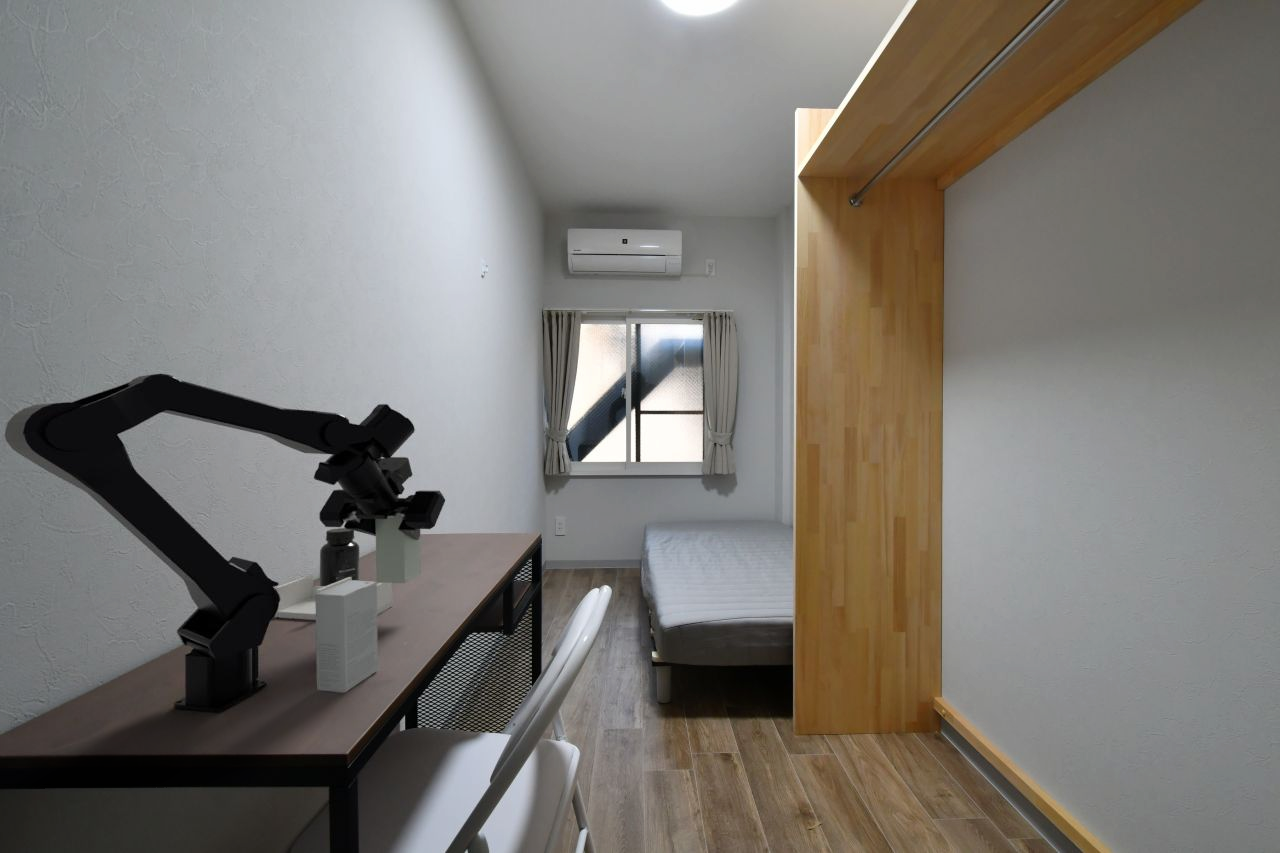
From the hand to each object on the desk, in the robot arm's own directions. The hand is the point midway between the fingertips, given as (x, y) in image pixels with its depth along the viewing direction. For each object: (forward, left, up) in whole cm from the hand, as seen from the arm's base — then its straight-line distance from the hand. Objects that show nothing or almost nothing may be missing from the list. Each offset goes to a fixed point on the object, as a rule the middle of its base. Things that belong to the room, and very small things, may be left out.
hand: (403, 537), depth 90 cm
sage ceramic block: (-1, 0, -7) cm, 7 cm away
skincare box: (-22, -7, -14) cm, 27 cm away
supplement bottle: (+11, +21, -14) cm, 27 cm away
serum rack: (0, +13, -13) cm, 19 cm away
